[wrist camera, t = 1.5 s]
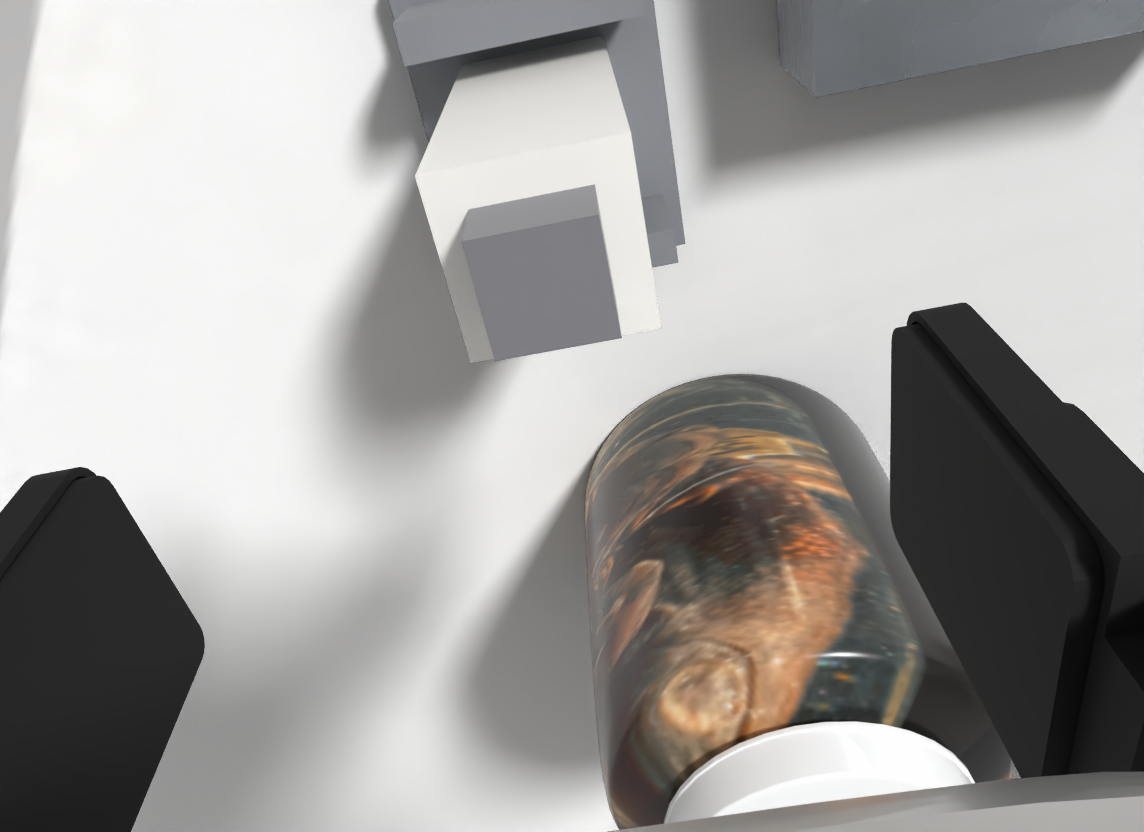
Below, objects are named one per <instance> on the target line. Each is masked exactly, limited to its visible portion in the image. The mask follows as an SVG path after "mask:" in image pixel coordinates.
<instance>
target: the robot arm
mask: <svg viewBox="0 0 1144 832" xmlns="http://www.w3.org/2000/svg"><path fill="white" fill-rule="evenodd" d="M890 517H891V523H892V527H893V531H894V534H895V537H896V540H897V542H898V544H899V546H900V548H901V550H902V552H903V553H904V555H905V557H906V559H907V561H908V563H909V565H910V567H911V569H912V571H913V573H914V574H915V576H916V578H917V580H918V582H919V584H920V586H921V588H922V590H923V592H924V594H925V595H926V597H927V599H928V601H929V603H930V605H931V607H932V609H933V611H934V613H935V615H936V616H937V618H938V620H939V622H940V624H941V626H942V628H943V630H944V632H945V634H946V635H947V637H948V639H949V641H950V643H951V645H952V647H953V649H954V651H955V653H956V655H957V656H958V658H959V660H960V662H961V664H962V666H963V668H964V670H965V672H966V674H967V676H968V677H969V679H970V681H971V683H972V685H973V687H974V689H975V691H976V693H977V695H978V697H979V698H980V700H981V702H982V704H983V706H984V708H985V710H986V712H987V714H988V716H989V718H990V719H991V721H992V723H993V725H994V727H995V729H996V731H997V733H998V735H999V737H1000V738H1001V740H1002V742H1003V744H1004V746H1005V748H1006V750H1007V752H1008V754H1009V756H1010V758H1011V759H1012V761H1013V763H1014V765H1015V767H1016V769H1017V771H1018V773H1019V775H1020V777H1021V778H1019V779H1006V780H996V781H988V782H980V783H972V784H964V785H956V786H947V787H939V788H931V789H923V790H915V791H907V792H899V793H890V794H882V795H874V796H866V797H858V798H850V799H841V800H833V801H825V802H817V803H809V804H802V805H795V806H788V807H781V808H774V809H766V810H759V811H752V812H745V813H738V814H731V815H723V816H716V817H709V818H702V819H695V820H688V821H680V822H673V823H666V824H659V825H652V826H645V827H637V828H630V829H623V830H616V831H609V832H1144V473H1143V472H1142V471H1141V470H1140V469H1139V468H1138V467H1137V466H1136V465H1135V464H1134V463H1133V462H1132V461H1131V460H1130V459H1129V458H1128V457H1127V456H1126V455H1125V454H1124V453H1123V452H1122V451H1121V450H1120V449H1119V448H1118V447H1117V446H1116V445H1115V444H1114V443H1113V442H1112V441H1111V440H1110V438H1109V437H1108V436H1107V435H1106V434H1105V433H1104V432H1103V431H1102V430H1101V429H1100V428H1099V427H1098V426H1097V425H1096V424H1095V423H1094V422H1093V421H1092V420H1091V419H1090V418H1089V417H1088V416H1087V415H1086V414H1085V413H1084V412H1083V411H1082V410H1080V409H1079V408H1078V407H1076V406H1075V405H1074V404H1069V403H1064V402H1062V401H1061V400H1060V399H1059V398H1058V397H1057V396H1056V395H1055V394H1054V393H1053V392H1052V391H1051V390H1050V388H1049V387H1048V386H1047V385H1046V384H1045V383H1044V382H1043V381H1042V380H1041V379H1040V378H1039V377H1038V376H1037V375H1036V374H1035V373H1034V372H1033V371H1032V370H1031V369H1030V368H1029V367H1028V365H1027V364H1026V363H1025V362H1024V361H1023V360H1022V359H1021V358H1020V357H1019V356H1018V355H1017V354H1016V353H1015V352H1014V351H1013V350H1012V349H1011V348H1010V347H1009V346H1008V345H1007V344H1006V343H1005V341H1004V340H1003V339H1002V338H1001V337H1000V336H999V335H998V334H997V333H996V332H995V331H994V330H993V329H992V328H991V327H990V326H989V325H988V324H987V323H986V322H985V321H984V320H983V319H982V317H981V316H980V315H979V314H978V313H977V312H976V311H975V310H974V309H973V308H972V307H971V306H970V305H968V304H967V303H958V304H953V305H947V306H942V307H936V308H931V309H926V310H920V311H915V312H912V313H911V314H910V315H909V318H908V321H907V326H904V327H899V328H895V330H894V331H893V334H892V352H891V449H890ZM204 646H205V645H204V636H203V632H202V630H201V627H200V625H199V624H198V622H197V621H196V619H195V617H194V616H193V614H192V612H191V611H190V609H189V608H188V606H187V604H186V603H185V601H184V599H183V598H182V596H181V595H180V593H179V591H178V590H177V588H176V587H175V585H174V583H173V582H172V580H171V578H170V577H169V575H168V574H167V572H166V570H165V569H164V567H163V566H162V564H161V562H160V561H159V559H158V557H157V556H156V554H155V553H154V551H153V549H152V548H151V546H150V544H149V543H148V541H147V540H146V538H145V536H144V535H143V533H142V532H141V530H140V528H139V527H138V525H137V523H136V522H135V520H134V519H133V517H132V515H131V514H130V512H129V510H128V509H127V507H126V506H125V504H124V502H123V501H122V499H121V498H120V496H119V494H118V493H117V491H116V489H115V488H114V486H113V485H112V484H111V482H110V481H109V480H108V479H106V478H105V477H102V476H96V474H95V473H94V472H92V471H91V470H89V469H88V468H83V467H78V468H72V469H67V470H62V471H56V472H51V473H45V474H40V475H36V476H32V477H31V478H29V479H28V480H27V481H26V482H25V483H24V484H23V485H22V486H21V488H20V489H19V490H18V491H17V493H16V494H15V495H14V496H13V498H12V499H11V500H10V501H9V503H8V504H7V505H6V506H5V507H4V509H3V510H2V511H1V512H0V832H131V830H132V827H133V825H134V823H135V820H136V818H137V815H138V813H139V811H140V808H141V806H142V803H143V801H144V798H145V796H146V794H147V791H148V789H149V786H150V784H151V781H152V779H153V777H154V774H155V772H156V769H157V767H158V765H159V762H160V760H161V757H162V755H163V752H164V750H165V748H166V745H167V743H168V740H169V738H170V736H171V733H172V731H173V728H174V726H175V723H176V721H177V719H178V716H179V714H180V711H181V709H182V707H183V704H184V702H185V699H186V697H187V694H188V692H189V690H190V687H191V685H192V682H193V680H194V677H195V675H196V673H197V670H198V668H199V665H200V663H201V661H202V658H203V654H204Z"/></svg>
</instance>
